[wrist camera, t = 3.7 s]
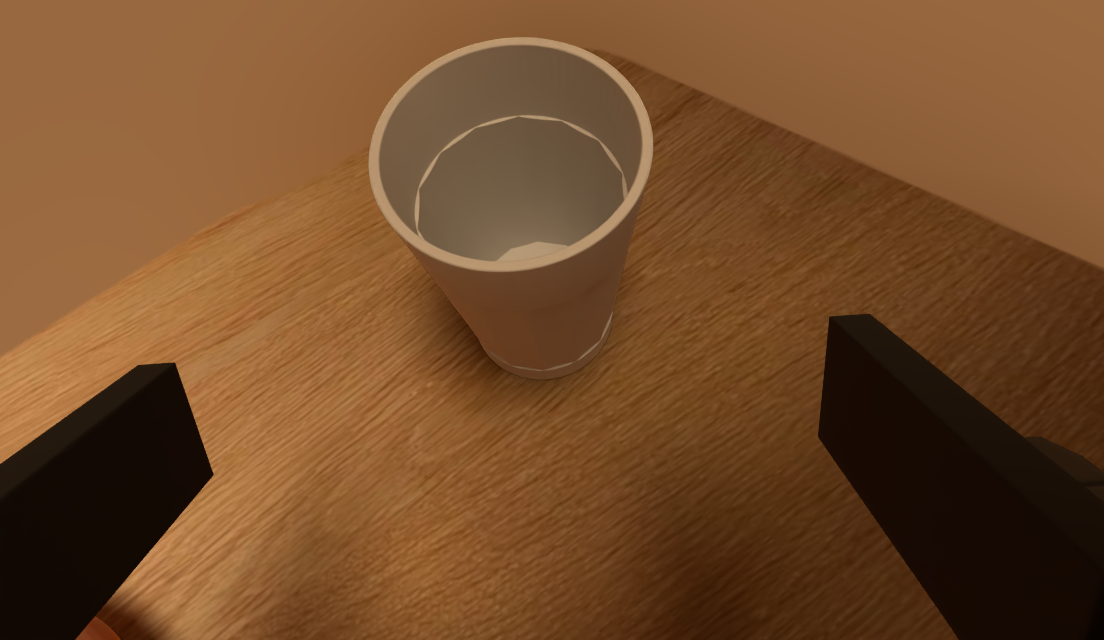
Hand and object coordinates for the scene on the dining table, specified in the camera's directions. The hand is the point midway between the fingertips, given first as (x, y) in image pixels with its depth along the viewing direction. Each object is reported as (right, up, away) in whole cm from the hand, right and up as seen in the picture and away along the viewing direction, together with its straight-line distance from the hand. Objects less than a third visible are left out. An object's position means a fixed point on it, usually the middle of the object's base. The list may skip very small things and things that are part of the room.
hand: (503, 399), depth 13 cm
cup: (+1, +2, +16) cm, 16 cm away
